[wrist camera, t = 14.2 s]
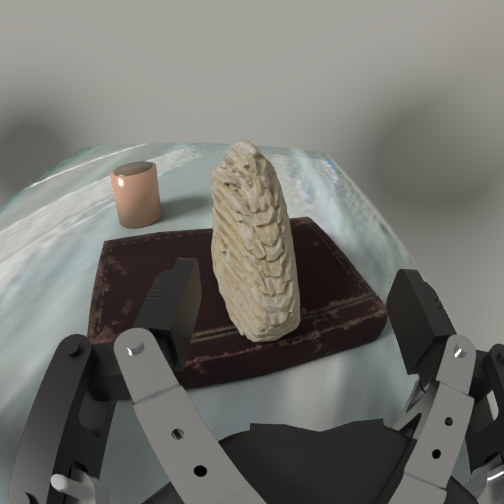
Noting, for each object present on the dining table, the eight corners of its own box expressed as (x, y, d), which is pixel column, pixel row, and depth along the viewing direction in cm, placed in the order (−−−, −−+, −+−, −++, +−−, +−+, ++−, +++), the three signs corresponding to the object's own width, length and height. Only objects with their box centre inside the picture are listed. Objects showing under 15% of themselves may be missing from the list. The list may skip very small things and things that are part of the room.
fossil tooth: (232, 359, 19) (205, 234, 31) (314, 340, 21) (262, 225, 32) (217, 226, 12) (194, 129, 23) (349, 208, 13) (264, 123, 24)
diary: (376, 347, 25) (395, 312, 22) (106, 408, 19) (80, 378, 16) (301, 242, 39) (305, 209, 36) (114, 270, 33) (104, 236, 30)
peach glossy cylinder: (112, 227, 40) (101, 177, 35) (130, 207, 46) (123, 161, 41) (152, 229, 40) (144, 175, 35) (167, 207, 45) (162, 159, 41)
